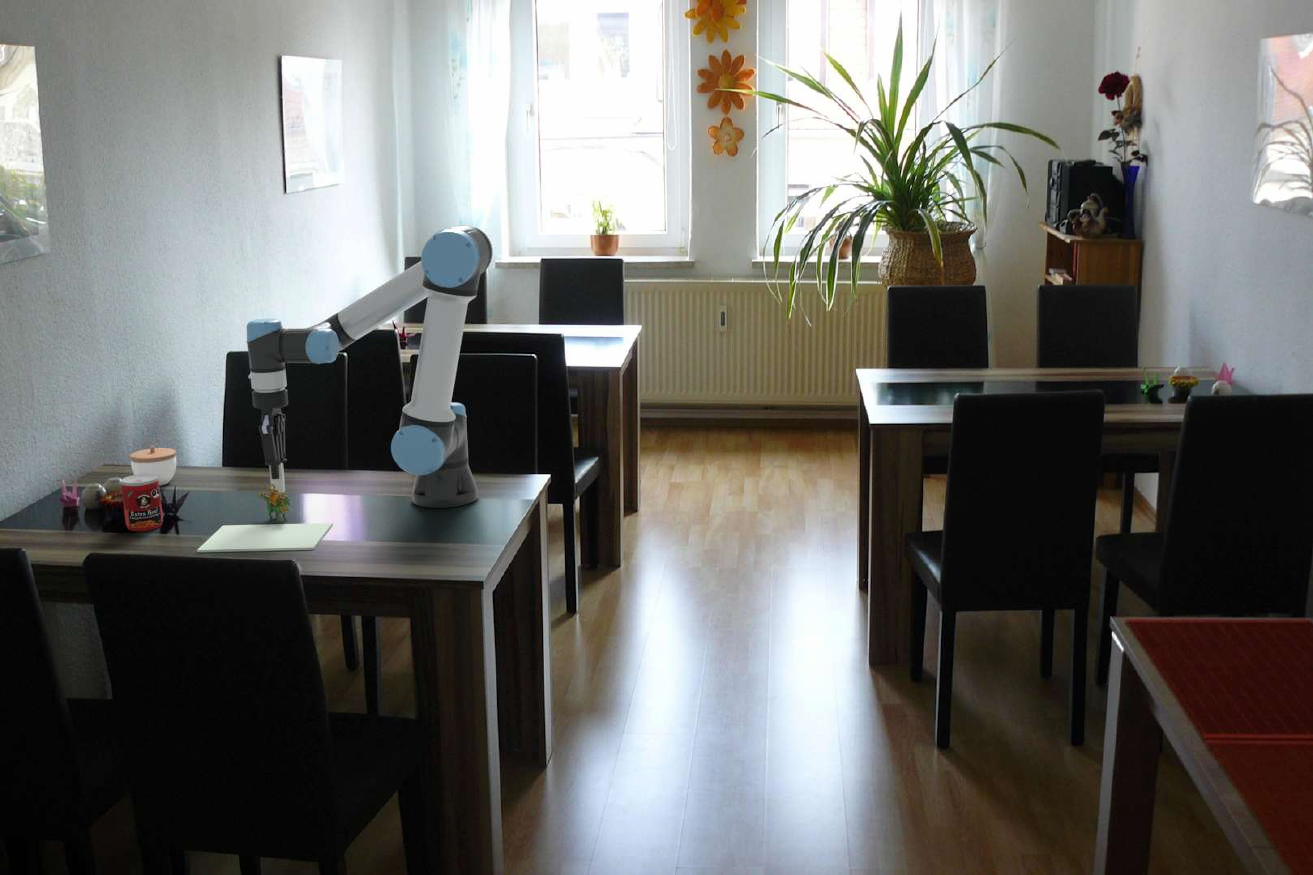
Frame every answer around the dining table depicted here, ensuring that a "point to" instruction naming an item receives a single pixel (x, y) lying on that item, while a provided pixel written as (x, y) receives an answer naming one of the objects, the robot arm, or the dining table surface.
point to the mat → (266, 537)
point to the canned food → (142, 502)
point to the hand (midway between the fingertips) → (278, 491)
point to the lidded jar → (155, 463)
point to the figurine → (276, 503)
